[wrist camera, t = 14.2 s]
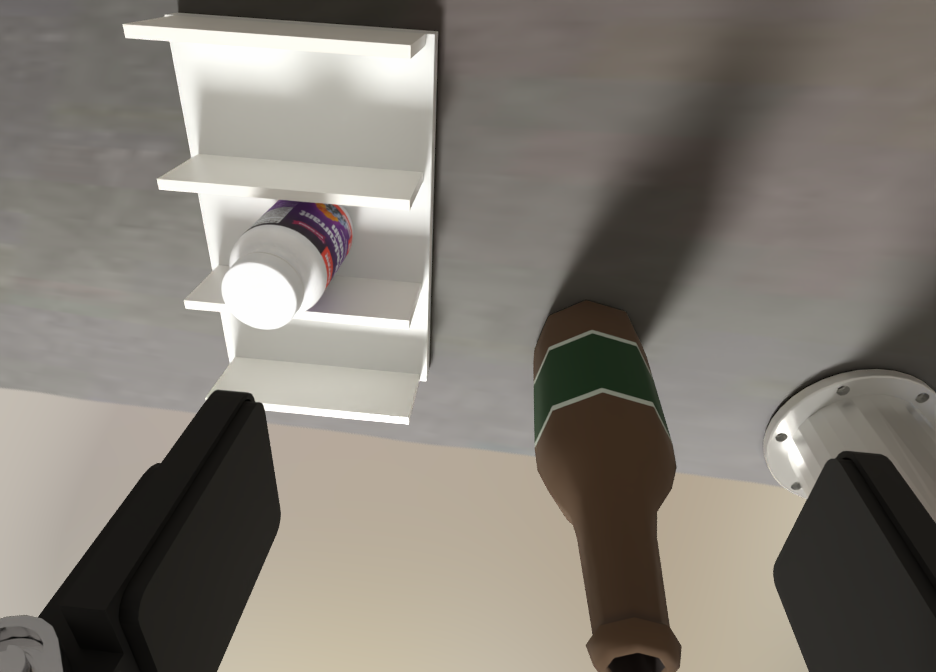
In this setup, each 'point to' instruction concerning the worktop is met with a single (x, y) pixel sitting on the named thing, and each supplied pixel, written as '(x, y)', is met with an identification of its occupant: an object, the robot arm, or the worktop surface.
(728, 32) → the worktop surface
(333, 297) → the shelf rack
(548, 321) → the beer bottle
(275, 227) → the pill bottle
